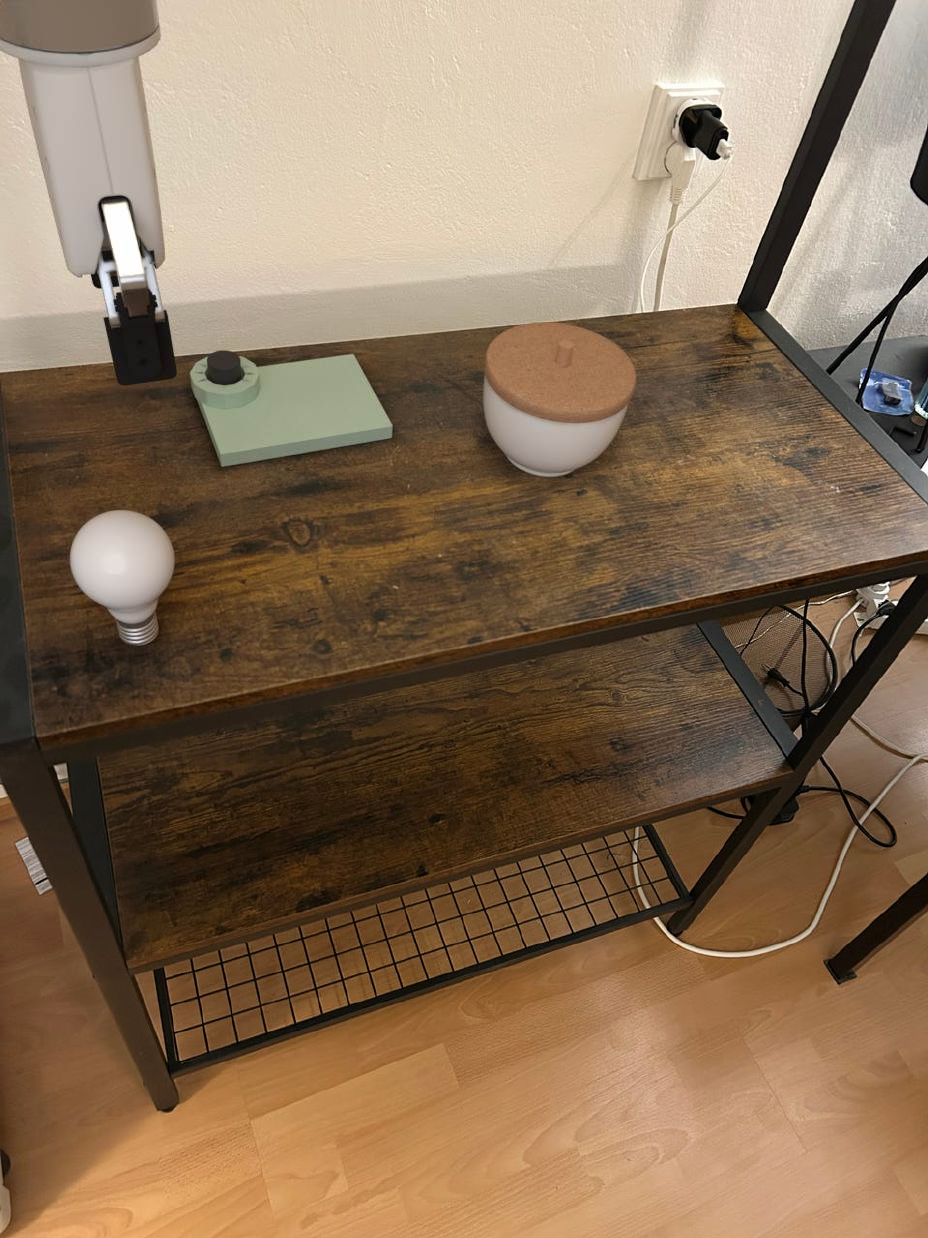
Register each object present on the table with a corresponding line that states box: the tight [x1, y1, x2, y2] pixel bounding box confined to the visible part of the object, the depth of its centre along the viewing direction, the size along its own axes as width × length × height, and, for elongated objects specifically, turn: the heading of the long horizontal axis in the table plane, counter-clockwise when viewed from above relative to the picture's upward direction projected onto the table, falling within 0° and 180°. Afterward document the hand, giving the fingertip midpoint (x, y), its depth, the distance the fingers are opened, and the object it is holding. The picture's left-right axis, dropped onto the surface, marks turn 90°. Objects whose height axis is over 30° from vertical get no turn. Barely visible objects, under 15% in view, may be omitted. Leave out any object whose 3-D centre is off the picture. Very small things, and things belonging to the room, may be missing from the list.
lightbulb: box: [69, 509, 176, 647], centre depth 64 cm, size 6×6×11 cm
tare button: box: [207, 349, 242, 385], centre depth 83 cm, size 3×3×2 cm
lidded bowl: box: [482, 321, 638, 478], centre depth 82 cm, size 13×13×11 cm
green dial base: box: [189, 353, 394, 468], centre depth 85 cm, size 15×11×3 cm
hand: (133, 329), depth 56 cm, fingers open, 9 cm apart
